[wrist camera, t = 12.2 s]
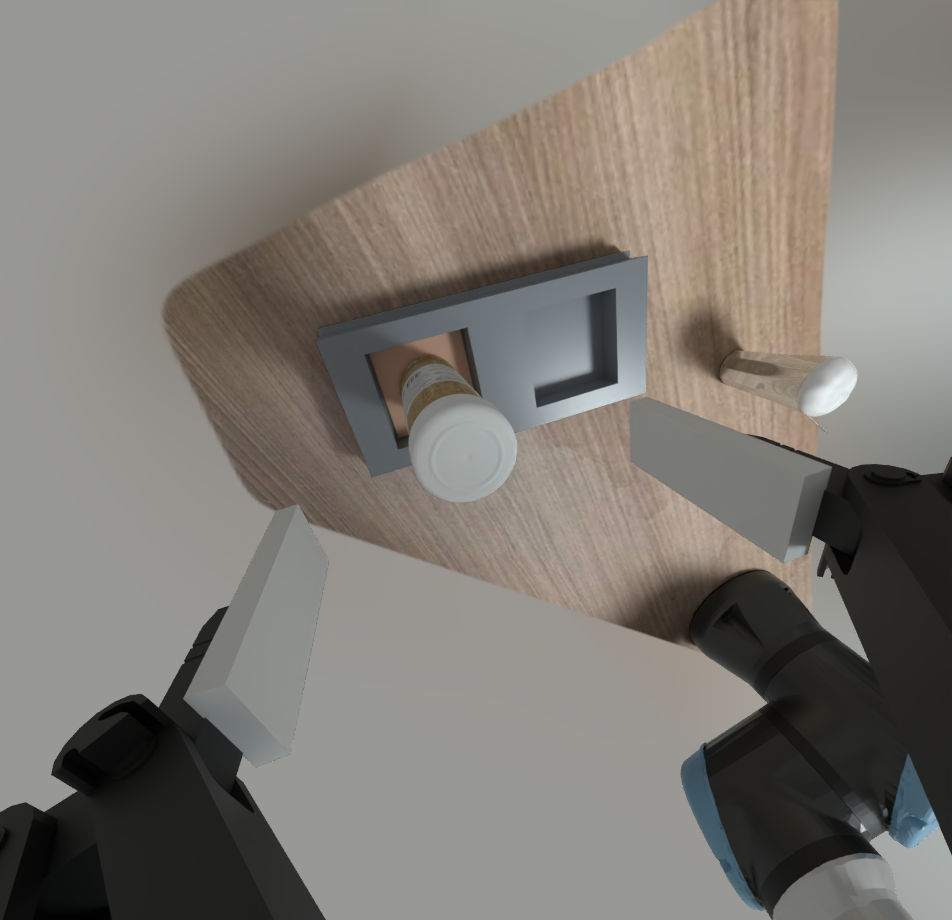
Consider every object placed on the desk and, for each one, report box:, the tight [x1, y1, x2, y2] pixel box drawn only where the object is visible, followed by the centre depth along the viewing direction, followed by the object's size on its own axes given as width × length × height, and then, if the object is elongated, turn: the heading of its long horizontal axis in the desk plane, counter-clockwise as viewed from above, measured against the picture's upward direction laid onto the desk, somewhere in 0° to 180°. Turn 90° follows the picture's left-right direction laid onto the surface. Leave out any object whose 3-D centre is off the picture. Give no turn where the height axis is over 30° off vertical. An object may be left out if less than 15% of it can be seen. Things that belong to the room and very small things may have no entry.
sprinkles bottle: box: [399, 356, 517, 502], centre depth 20 cm, size 5×5×13 cm
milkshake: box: [719, 351, 858, 433], centre depth 30 cm, size 4×5×10 cm
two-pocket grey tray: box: [315, 250, 648, 477], centre depth 27 cm, size 11×23×3 cm, turn 103°
